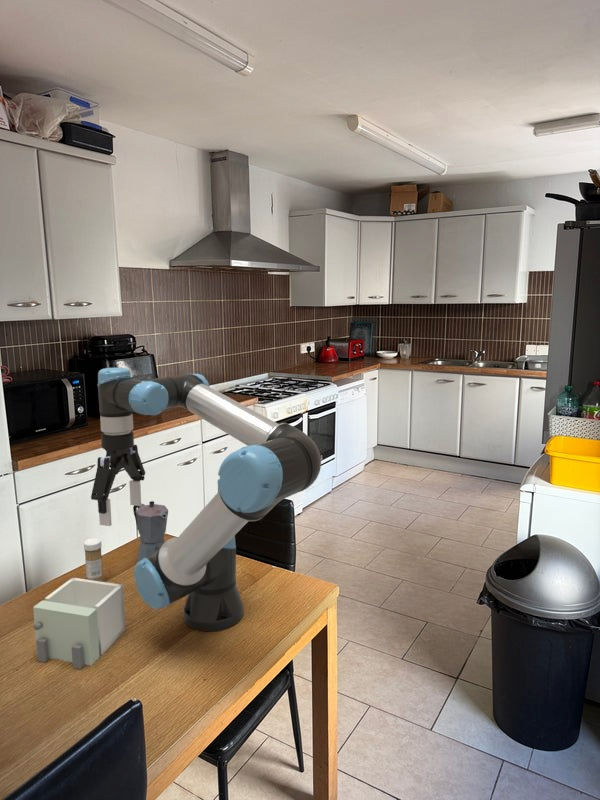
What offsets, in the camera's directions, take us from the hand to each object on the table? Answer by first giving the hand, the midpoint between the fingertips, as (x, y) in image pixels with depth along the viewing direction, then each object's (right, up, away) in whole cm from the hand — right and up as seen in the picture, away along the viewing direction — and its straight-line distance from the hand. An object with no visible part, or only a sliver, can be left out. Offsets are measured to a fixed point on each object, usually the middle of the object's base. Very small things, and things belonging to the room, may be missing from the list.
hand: (121, 514), depth 139 cm
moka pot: (-1, -22, +32) cm, 39 cm away
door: (-8, -29, -13) cm, 33 cm away
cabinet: (-7, -29, -9) cm, 31 cm away
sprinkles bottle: (-13, -24, +18) cm, 33 cm away
